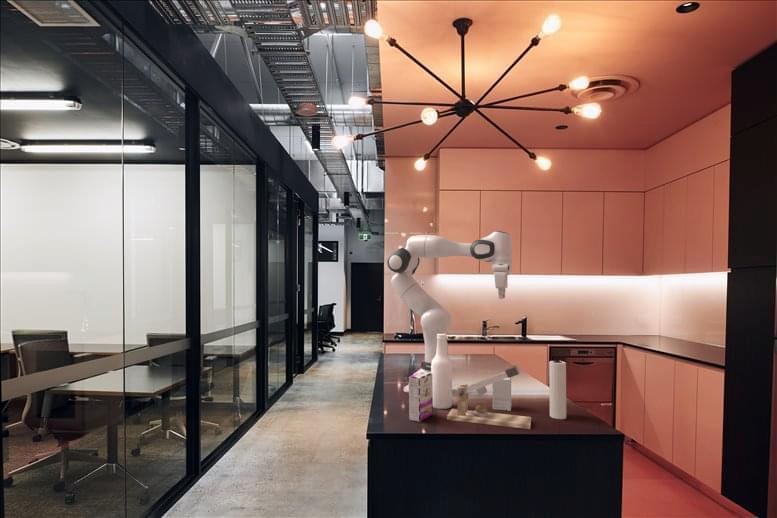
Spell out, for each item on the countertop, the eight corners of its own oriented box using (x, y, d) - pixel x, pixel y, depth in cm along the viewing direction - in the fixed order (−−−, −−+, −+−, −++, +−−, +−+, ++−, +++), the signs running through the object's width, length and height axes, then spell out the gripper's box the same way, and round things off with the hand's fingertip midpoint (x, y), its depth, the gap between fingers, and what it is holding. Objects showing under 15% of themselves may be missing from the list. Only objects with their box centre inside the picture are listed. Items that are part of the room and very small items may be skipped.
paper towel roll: (557, 420, 171) (557, 363, 172) (546, 416, 176) (545, 360, 177) (572, 418, 173) (571, 362, 174) (560, 414, 179) (559, 359, 180)
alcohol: (454, 409, 185) (455, 335, 186) (434, 409, 183) (434, 335, 185) (448, 403, 193) (448, 332, 195) (428, 403, 192) (429, 333, 193)
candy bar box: (421, 412, 179) (422, 371, 180) (433, 415, 176) (433, 372, 177) (407, 420, 169) (408, 376, 170) (419, 422, 167) (419, 377, 167)
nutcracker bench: (447, 419, 170) (447, 387, 171) (452, 412, 180) (452, 382, 180) (530, 429, 160) (530, 395, 161) (531, 421, 170) (531, 388, 170)
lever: (462, 402, 172) (456, 389, 173) (463, 399, 175) (458, 387, 176) (521, 380, 165) (515, 367, 166) (521, 378, 169) (515, 365, 169)
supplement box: (511, 406, 189) (511, 376, 190) (510, 411, 182) (510, 379, 183) (493, 404, 192) (493, 374, 192) (492, 409, 185) (492, 378, 185)
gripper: (496, 268, 211) (496, 297, 210) (492, 266, 192) (492, 299, 191) (510, 268, 209) (510, 298, 208) (507, 266, 190) (507, 299, 189)
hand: (501, 298), depth 200 cm, fingers open, 8 cm apart
